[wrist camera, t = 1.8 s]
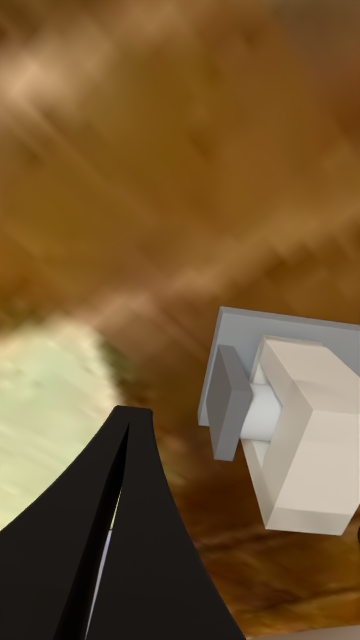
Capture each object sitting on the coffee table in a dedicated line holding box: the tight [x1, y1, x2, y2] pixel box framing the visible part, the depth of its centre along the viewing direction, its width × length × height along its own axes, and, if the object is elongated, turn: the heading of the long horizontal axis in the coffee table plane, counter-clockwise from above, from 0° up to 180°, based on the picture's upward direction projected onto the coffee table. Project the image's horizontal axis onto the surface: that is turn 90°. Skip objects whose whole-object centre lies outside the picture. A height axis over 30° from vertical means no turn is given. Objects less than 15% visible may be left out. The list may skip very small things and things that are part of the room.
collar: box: [240, 335, 360, 535], centre depth 12 cm, size 6×3×5 cm, turn 172°
